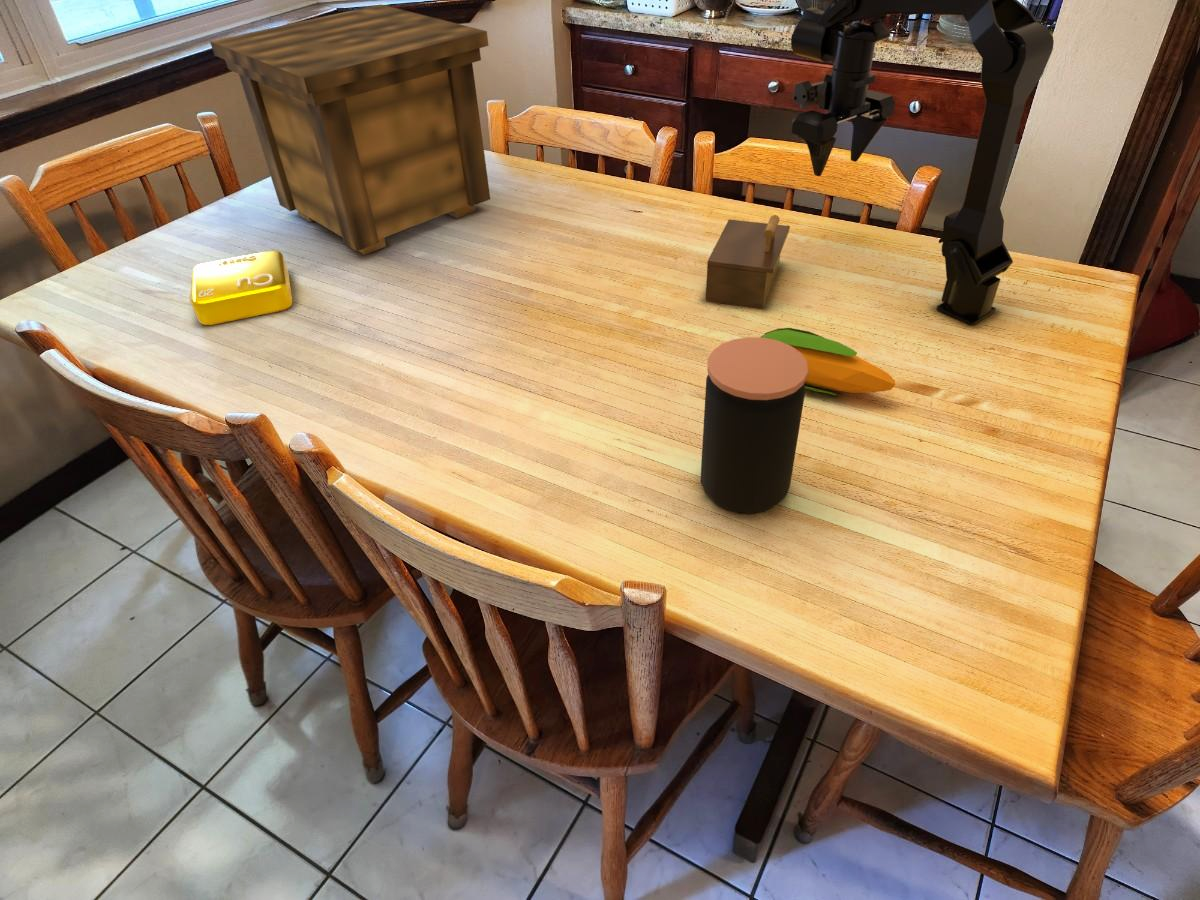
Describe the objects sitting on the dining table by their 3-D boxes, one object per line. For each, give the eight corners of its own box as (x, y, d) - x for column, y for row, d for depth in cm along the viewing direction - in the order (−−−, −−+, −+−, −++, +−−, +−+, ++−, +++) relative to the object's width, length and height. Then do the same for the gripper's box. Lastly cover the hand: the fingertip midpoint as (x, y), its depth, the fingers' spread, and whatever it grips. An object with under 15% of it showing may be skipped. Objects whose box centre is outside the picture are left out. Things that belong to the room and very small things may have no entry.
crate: (267, 216, 162) (209, 41, 140) (412, 166, 179) (380, 4, 158) (355, 271, 142) (303, 77, 121) (508, 209, 159) (486, 31, 138)
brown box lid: (789, 230, 133) (792, 203, 130) (773, 273, 122) (776, 245, 119) (728, 223, 136) (730, 197, 133) (707, 265, 125) (708, 237, 122)
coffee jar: (778, 455, 100) (796, 333, 88) (797, 515, 92) (819, 390, 80) (694, 460, 100) (700, 338, 88) (706, 520, 92) (714, 396, 80)
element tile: (288, 269, 143) (280, 245, 140) (293, 309, 133) (285, 283, 130) (200, 286, 140) (190, 262, 137) (199, 328, 129) (188, 302, 126)
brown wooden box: (779, 264, 138) (783, 229, 134) (762, 309, 127) (766, 273, 123) (726, 257, 140) (728, 223, 136) (705, 301, 129) (707, 265, 125)
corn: (765, 308, 112) (909, 343, 104) (762, 351, 118) (899, 387, 110) (745, 337, 108) (894, 375, 100) (742, 380, 113) (883, 420, 105)
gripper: (848, 46, 131) (834, 141, 141) (770, 69, 123) (760, 169, 133) (906, 59, 124) (886, 158, 134) (827, 85, 116) (812, 189, 126)
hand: (835, 168), depth 132 cm, fingers open, 9 cm apart
